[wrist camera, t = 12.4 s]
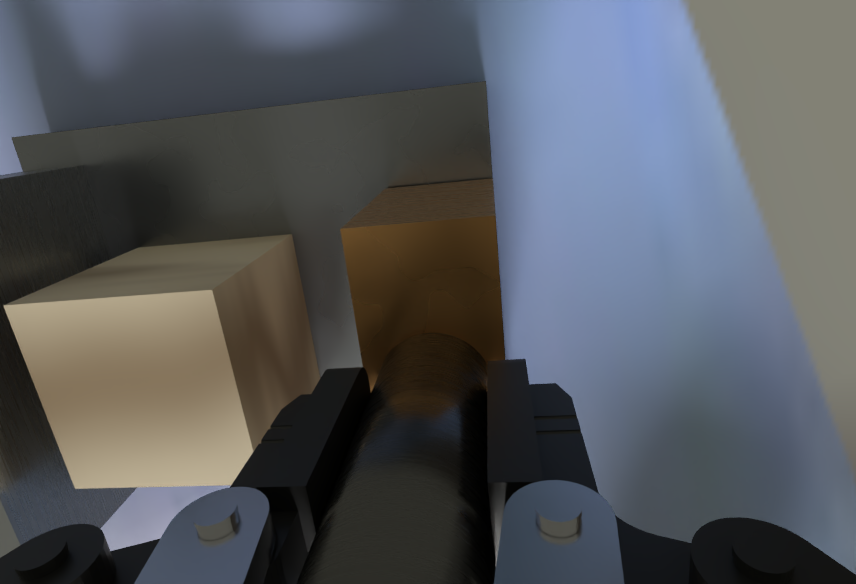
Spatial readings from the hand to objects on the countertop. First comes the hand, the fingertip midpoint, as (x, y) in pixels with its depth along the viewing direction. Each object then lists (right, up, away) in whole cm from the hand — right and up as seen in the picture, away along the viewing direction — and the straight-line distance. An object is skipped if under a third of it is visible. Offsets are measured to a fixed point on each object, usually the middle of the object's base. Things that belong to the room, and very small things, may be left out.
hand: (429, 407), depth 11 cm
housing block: (-6, +2, +7) cm, 9 cm away
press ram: (+1, +2, +6) cm, 6 cm away
